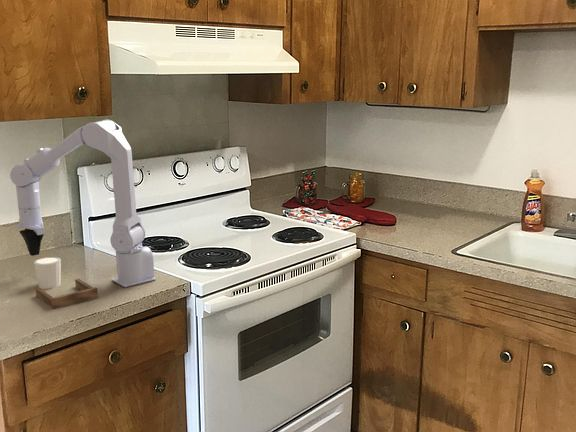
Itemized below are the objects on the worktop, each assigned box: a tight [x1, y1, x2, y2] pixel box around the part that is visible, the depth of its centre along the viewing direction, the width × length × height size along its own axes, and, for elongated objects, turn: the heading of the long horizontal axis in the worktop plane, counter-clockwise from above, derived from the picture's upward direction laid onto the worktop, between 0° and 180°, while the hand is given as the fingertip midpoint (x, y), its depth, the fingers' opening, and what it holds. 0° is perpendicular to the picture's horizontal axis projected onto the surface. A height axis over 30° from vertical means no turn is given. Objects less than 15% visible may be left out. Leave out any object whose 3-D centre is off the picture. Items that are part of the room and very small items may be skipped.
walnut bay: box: [35, 278, 99, 310], centre depth 160 cm, size 12×12×2 cm
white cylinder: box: [33, 256, 62, 290], centre depth 169 cm, size 7×7×7 cm
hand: (34, 254), depth 175 cm, fingers closed
